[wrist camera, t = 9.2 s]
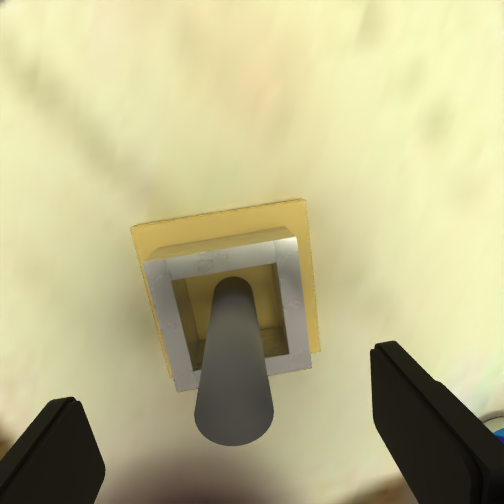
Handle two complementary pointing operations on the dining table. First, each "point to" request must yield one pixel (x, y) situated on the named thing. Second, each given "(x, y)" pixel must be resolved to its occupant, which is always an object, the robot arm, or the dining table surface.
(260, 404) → the toggle switch
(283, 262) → the silver square frame
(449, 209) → the dining table surface
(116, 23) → the dining table surface
